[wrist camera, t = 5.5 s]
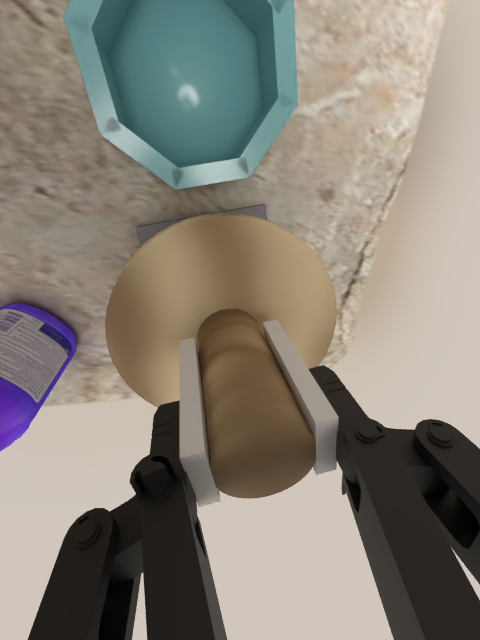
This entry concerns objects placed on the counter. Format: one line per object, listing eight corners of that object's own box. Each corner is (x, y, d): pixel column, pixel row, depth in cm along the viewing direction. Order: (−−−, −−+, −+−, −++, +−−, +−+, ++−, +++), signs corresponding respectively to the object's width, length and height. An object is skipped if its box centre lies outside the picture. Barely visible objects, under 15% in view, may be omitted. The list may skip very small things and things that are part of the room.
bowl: (133, 193, 23) (121, 199, 18) (68, -24, 17) (27, -93, 13) (278, 169, 24) (299, 168, 19) (263, -45, 18) (289, -114, 14)
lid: (150, 421, 20) (130, 598, 12) (70, 238, 14) (-91, 348, 6) (324, 379, 21) (414, 513, 13) (326, 192, 15) (506, 226, 7)
